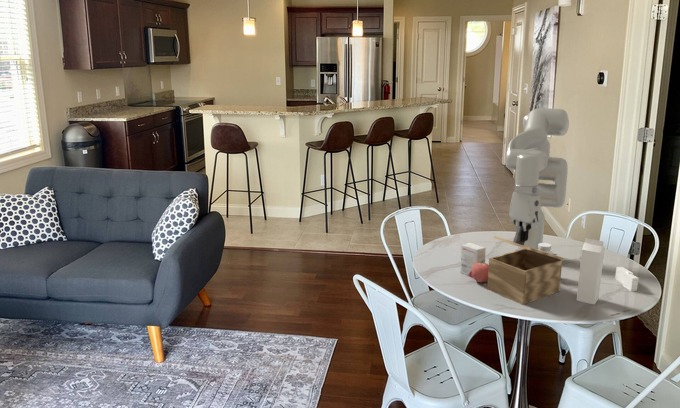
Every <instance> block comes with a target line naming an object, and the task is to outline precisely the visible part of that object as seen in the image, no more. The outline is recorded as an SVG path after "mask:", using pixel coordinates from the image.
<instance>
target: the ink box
mask: <svg viewBox="0 0 680 408" xmlns="http://www.w3.org/2000/svg"><path fill="white" fill-rule="evenodd" d="M481 262H482V263H486V247H484V246H481V245H478V244H475V243H473V242H467V243H463V244H461V245H460V273H461V274H462V275H465V276H469V277H471V278H473V276H472V271H471V269H472V267H473V265H474V264H476V263H481Z"/></svg>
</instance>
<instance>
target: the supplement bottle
mask: <svg viewBox="0 0 680 408" xmlns="http://www.w3.org/2000/svg"><path fill="white" fill-rule="evenodd" d="M538 248H539V249H538V250H541V251H544V252H547V253H550V254H553V255H554V253H553V251H552V250H551V249H552V244H551V243H548V242H543V243H539V244H538Z"/></svg>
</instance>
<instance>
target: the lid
mask: <svg viewBox="0 0 680 408" xmlns="http://www.w3.org/2000/svg"><path fill="white" fill-rule="evenodd" d="M522 230H523V227H521V226H518V228H517V229H516V231H515V235H514V237H513V240H509V239H507V238H506V239H505V238H502V237H498V236H496V235H494V236H493V239H495V240H498V241H501V242H504V243H507V244H510V245H512V246H516V247H521V248H524V249H527V250H530V251H534V252H537V253H541V254H544V255H547V256H551V257H554V258H557V259H560V260H562V261H563V260H564V257H562V256H559V255H557V254H554V253H553V254H550V253H547V252H544V251H541V250H538V249H535V248H532V247H529V246H526V245H524V243H525V241H523V242H521V231H522Z"/></svg>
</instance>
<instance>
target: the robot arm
mask: <svg viewBox="0 0 680 408" xmlns="http://www.w3.org/2000/svg"><path fill="white" fill-rule="evenodd" d="M522 127H523V131H522V132H520V133H518V134H517V135H516V136H514V137H513V138H512V139H511V140H510V141H509V142H508V144H507V148H506V152H505V155H504V156H505V157H504V165H505V167H506V168H507V169H508V170H512V171H515V180H514V191H513V192H512V194H511V200H510V204H509V221H511V222H512V223H513V224H514V226H515V229H516V230H517V228H518V226H521V227H523V230H522V231H521V242H523V241H525V243H524V245H526V246H529V247H532V248H535V249H539V248H538V244H539V243H544V242H543V241H544V229H545V220H546V219H545V214H544V212H543V210H542V209H541V207H545V208H559V209H560V208H561V207H563V206H564V205H565V201H566V200H565V199H566V193H567V182H568V168H569V167H568V162H567V160H566V159H564V158H563V157H553V156H551V155H550V152H551V151H550V149H551V144H550V142H549V140H548V136H555V137H560V136H561V137H562V136H565V135H566V134H567V133H568V130H569V128H570V121H569V114H568V113H567V111H566V110H565V109H562V108H545V107H540V108H539V107H538V108H534V109H532V110H531V111H529V112H528V114H525V115H524V117H522ZM539 181H551V182H554V183H545V182H539ZM517 247H518V246H517ZM521 249H524V248H521V247H518V248H517V249H515V250H514V251H517V250H521Z"/></svg>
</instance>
